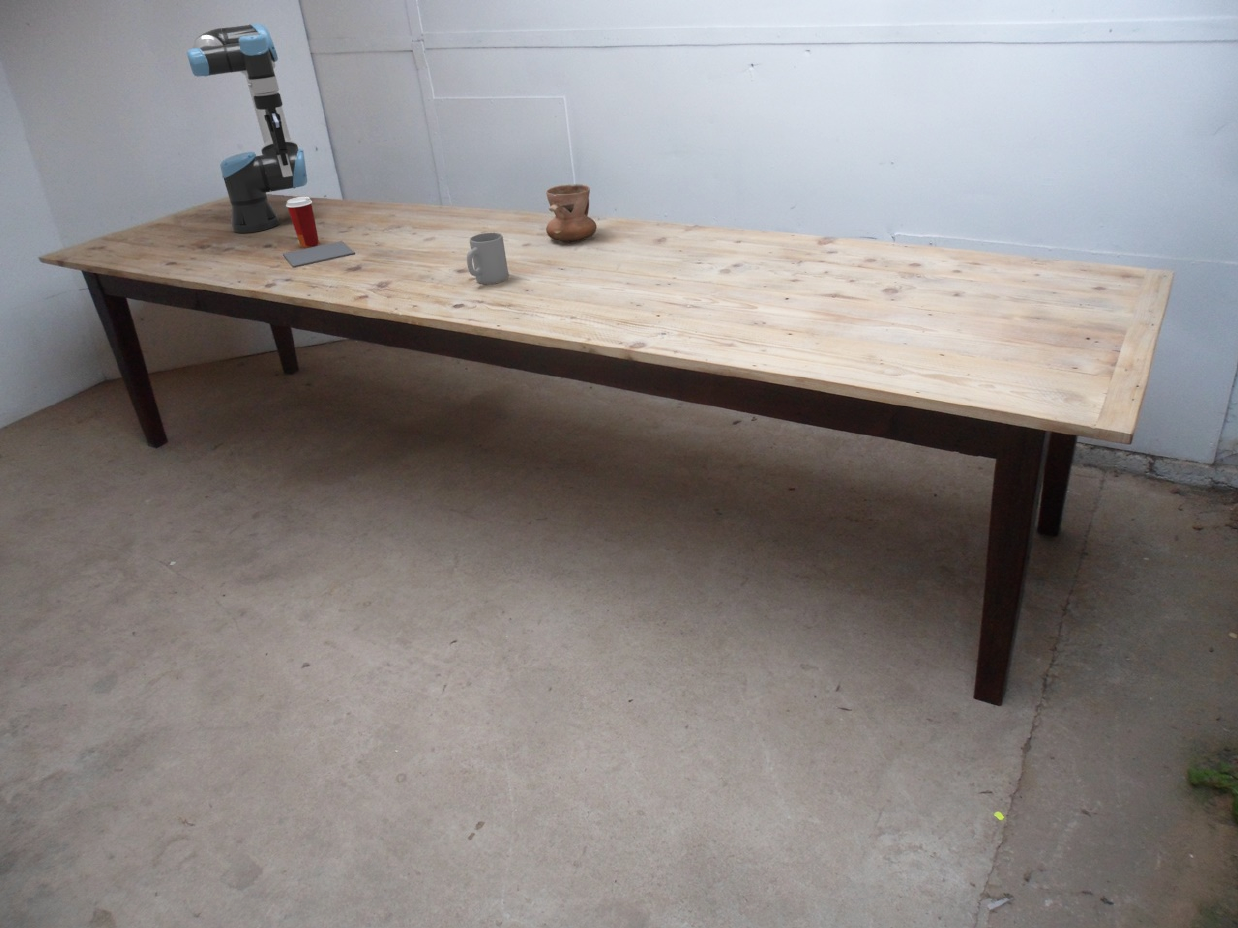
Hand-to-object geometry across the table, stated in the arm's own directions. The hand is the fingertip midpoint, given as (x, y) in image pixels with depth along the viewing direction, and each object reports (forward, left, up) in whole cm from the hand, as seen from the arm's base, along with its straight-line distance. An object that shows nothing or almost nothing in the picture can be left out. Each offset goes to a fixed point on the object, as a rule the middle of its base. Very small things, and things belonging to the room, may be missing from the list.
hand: (287, 176), depth 277 cm
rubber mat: (+21, 0, -20) cm, 29 cm away
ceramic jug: (+62, +65, -20) cm, 92 cm away
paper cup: (+8, 0, -20) cm, 21 cm away
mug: (+81, +31, -20) cm, 89 cm away
